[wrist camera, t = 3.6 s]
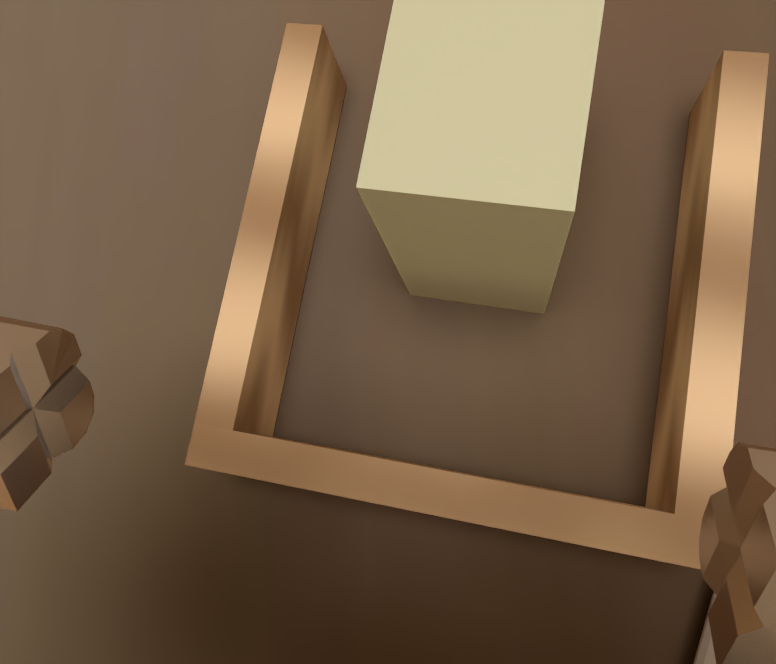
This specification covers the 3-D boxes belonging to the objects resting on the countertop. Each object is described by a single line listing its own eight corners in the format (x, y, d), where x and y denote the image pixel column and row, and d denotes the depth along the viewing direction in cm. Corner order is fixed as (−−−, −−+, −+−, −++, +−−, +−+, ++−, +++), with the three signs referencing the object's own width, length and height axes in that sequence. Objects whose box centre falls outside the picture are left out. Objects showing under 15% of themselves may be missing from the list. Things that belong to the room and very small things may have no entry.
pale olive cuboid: (544, 314, 22) (575, 211, 13) (410, 295, 23) (356, 187, 14) (573, 118, 23) (618, -93, 14) (444, 108, 24) (413, -99, 15)
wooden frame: (683, 556, 20) (720, 573, 16) (231, 465, 23) (184, 464, 19) (728, 117, 22) (769, 53, 19) (315, 83, 25) (286, 23, 22)
